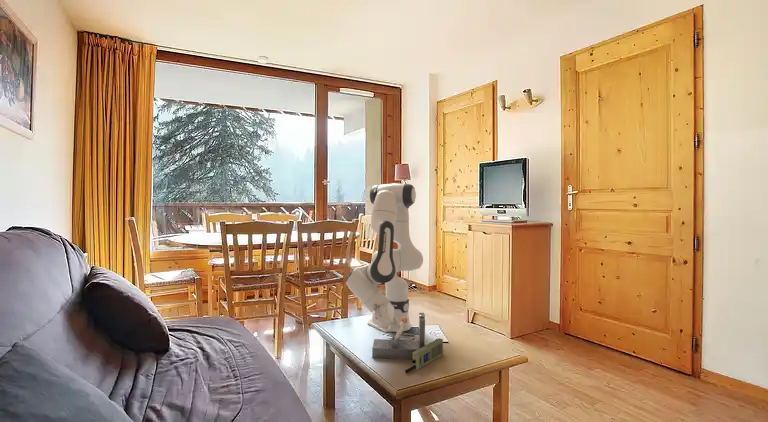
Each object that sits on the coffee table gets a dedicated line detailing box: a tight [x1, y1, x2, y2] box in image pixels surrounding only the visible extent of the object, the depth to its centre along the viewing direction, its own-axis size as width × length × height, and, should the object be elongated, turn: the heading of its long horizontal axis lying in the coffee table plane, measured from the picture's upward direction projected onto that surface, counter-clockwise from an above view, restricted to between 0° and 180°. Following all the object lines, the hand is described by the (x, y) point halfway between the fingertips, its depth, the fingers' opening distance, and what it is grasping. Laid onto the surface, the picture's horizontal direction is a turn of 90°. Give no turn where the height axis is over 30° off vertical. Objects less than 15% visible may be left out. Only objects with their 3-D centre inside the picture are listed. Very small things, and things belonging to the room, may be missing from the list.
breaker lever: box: [394, 317, 408, 342], centre depth 167 cm, size 3×3×12 cm
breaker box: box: [371, 312, 426, 360], centre depth 168 cm, size 21×10×17 cm, turn 87°
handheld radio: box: [404, 338, 444, 374], centre depth 159 cm, size 7×3×25 cm
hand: (398, 326), depth 167 cm, fingers closed, pressing on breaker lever
